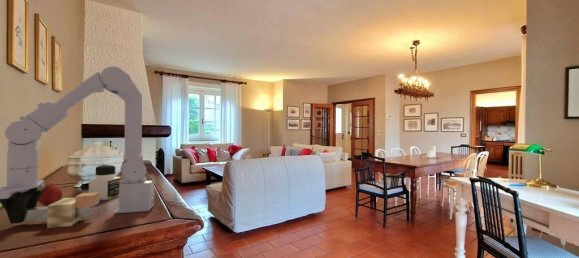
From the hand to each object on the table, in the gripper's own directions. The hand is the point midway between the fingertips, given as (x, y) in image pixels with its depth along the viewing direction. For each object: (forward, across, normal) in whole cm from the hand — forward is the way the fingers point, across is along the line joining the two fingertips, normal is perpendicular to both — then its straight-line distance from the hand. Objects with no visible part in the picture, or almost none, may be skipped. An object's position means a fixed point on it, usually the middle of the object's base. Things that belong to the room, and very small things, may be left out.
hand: (21, 220), depth 67 cm
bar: (0, 0, +7) cm, 7 cm away
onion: (+2, -18, -3) cm, 18 cm away
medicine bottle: (+2, -28, +9) cm, 30 cm away
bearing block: (+1, 0, +10) cm, 10 cm away
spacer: (-3, 0, +14) cm, 15 cm away
